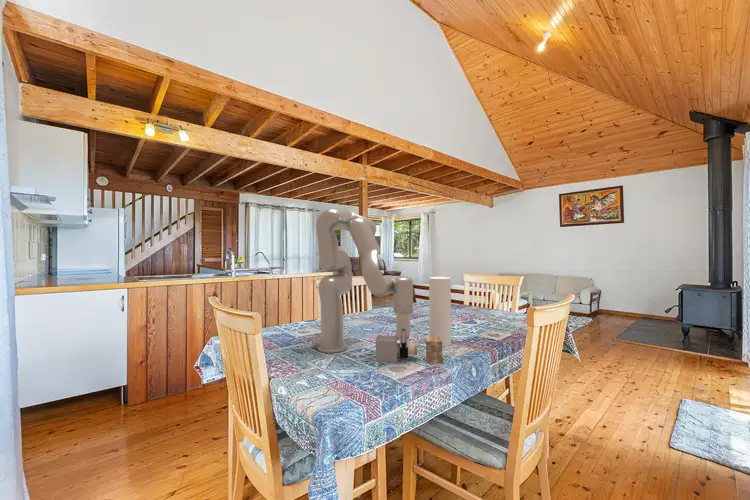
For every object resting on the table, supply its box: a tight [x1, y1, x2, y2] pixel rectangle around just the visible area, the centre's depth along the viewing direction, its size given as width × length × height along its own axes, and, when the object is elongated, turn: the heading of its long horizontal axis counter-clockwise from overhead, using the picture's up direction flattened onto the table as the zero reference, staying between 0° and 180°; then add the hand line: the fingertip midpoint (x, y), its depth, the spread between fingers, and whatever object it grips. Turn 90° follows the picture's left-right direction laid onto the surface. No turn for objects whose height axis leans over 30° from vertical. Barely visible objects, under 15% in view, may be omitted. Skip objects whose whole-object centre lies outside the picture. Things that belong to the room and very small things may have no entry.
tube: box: [397, 342, 418, 356], centre depth 126 cm, size 15×5×5 cm, turn 85°
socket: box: [425, 335, 443, 364], centre depth 125 cm, size 6×7×8 cm
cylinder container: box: [428, 275, 452, 348], centre depth 146 cm, size 9×9×30 cm
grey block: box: [375, 335, 398, 363], centre depth 127 cm, size 8×7×8 cm
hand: (403, 355), depth 126 cm, fingers closed on tube, 4 cm apart
